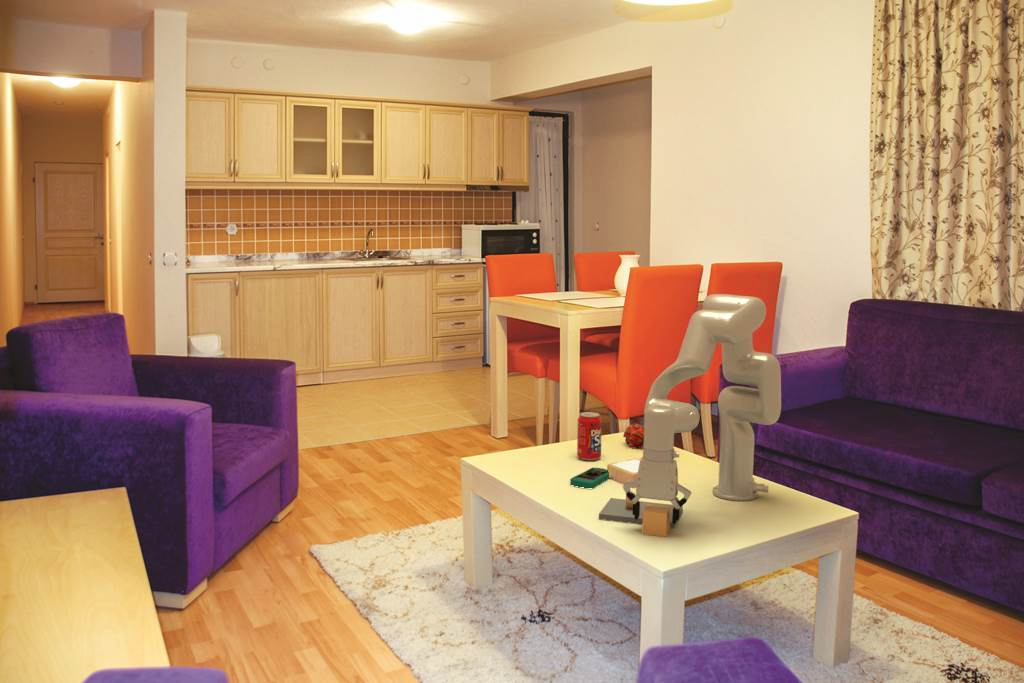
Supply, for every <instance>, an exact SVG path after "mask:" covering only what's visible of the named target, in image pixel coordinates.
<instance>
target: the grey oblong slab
mask: <svg viewBox="0 0 1024 683" xmlns="http://www.w3.org/2000/svg"><path fill="white" fill-rule="evenodd" d="M639 502H640V515H639V517H638V519H634V517H635V515H633V510H627V509H626V498H625V499H623V498H615V497H611V498H610V499H609V500H608V501H607V502H606V503H605V505H604V506H603V508H602V509H601V510H600V511H599V513H598V520H602V519H606V520H605V521H610V520H613V522H619V521H622V522H621V523H627V522H631V523H630V524H635V523H637V524H636V525H638V524H639V525H643V510H644V509H645V507H646V505H647V504H652V505H661V506H669V507H671V510H670V529H675V527H677V526H676V525H677V524H678V522H679V520H677V522H676V524H673V523H672V516H673V508H674V506H673V504H668V503H660V502H651V501H641V500H639ZM683 510H684V505H683V506H681V507H680V514H679V519H680V517H681V516H682V514H683V512H682V511H683ZM681 513H682V514H681ZM680 515H681V516H680Z"/></svg>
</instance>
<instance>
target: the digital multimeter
mask: <svg viewBox="0 0 1024 683" xmlns="http://www.w3.org/2000/svg"><path fill="white" fill-rule="evenodd" d="M608 470H609V469H606V468H602V467H591V468H589V469H586V470H585V471H583V472H581V473H579V474H577V475H575V476H573V477H572V478H570V481H569V482H570V483H569V484H570V486H571V485H574V486H573V487H575V486H578V487H577V488H580V487H584V488H583V489H586V488H593V489H594V487H595V486H596V487H598V486H599V485H601V484H602V482H603V483H605V482H607V481H608V480H607V479H609V472H608ZM606 480H607V481H606ZM609 480H610V479H609ZM604 481H605V482H604ZM600 483H601V484H600ZM598 484H599V485H598ZM597 485H598V486H597ZM596 487H595V488H596Z"/></svg>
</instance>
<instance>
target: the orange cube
mask: <svg viewBox="0 0 1024 683" xmlns="http://www.w3.org/2000/svg"><path fill="white" fill-rule="evenodd" d="M670 510H671V507H669V506H661V505H652V504H647V505H646V507H645V509H644V510H643V524H642V527H641V528H642V529H641V530H642V531H641V532H642V533H641V534H642V535H646V534H648V535H647V536H654V535H655V537H663V538H664V537H665V538H666V537H667V536H668V534H669V531H670V529H671V528H670Z"/></svg>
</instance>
